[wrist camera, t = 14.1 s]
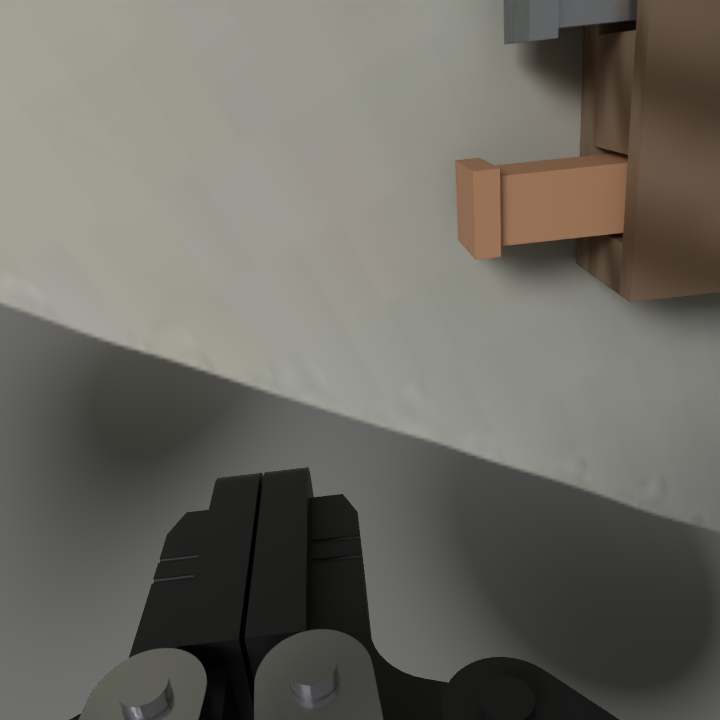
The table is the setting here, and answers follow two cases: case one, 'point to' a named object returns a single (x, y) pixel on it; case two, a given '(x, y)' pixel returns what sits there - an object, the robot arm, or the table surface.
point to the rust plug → (538, 201)
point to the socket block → (657, 147)
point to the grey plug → (561, 16)
